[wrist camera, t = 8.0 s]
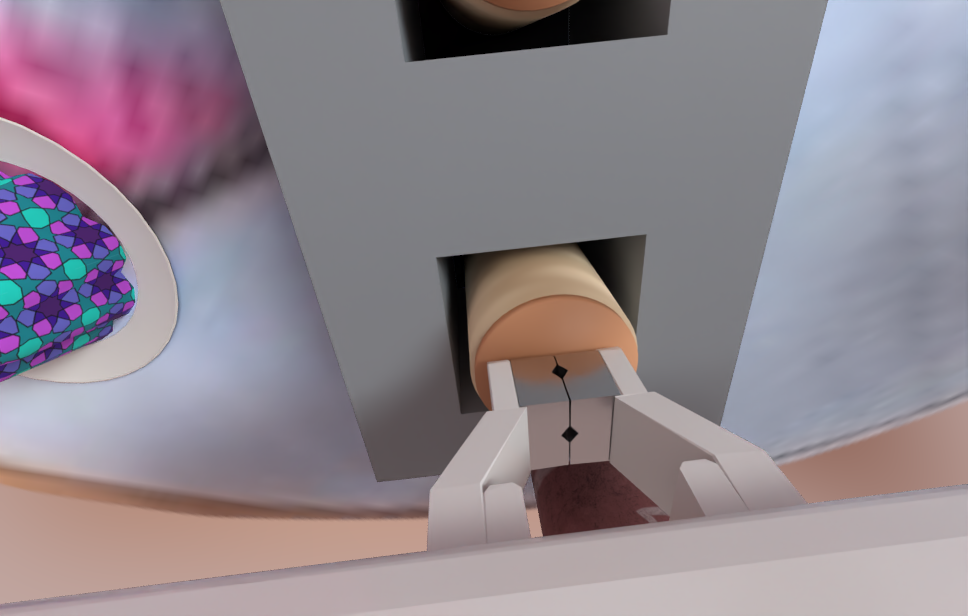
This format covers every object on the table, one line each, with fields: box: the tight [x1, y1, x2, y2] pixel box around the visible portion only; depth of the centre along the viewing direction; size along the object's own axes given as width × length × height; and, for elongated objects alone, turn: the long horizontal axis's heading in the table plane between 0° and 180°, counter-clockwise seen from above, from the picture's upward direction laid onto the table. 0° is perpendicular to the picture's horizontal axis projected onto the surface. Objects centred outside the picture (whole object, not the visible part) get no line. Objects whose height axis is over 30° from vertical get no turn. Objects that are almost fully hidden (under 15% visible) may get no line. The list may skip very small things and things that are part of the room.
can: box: [531, 461, 670, 536], centre depth 18 cm, size 6×6×14 cm
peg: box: [463, 242, 638, 411], centre depth 13 cm, size 4×4×8 cm
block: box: [220, 0, 828, 482], centre depth 13 cm, size 11×19×8 cm, turn 5°
